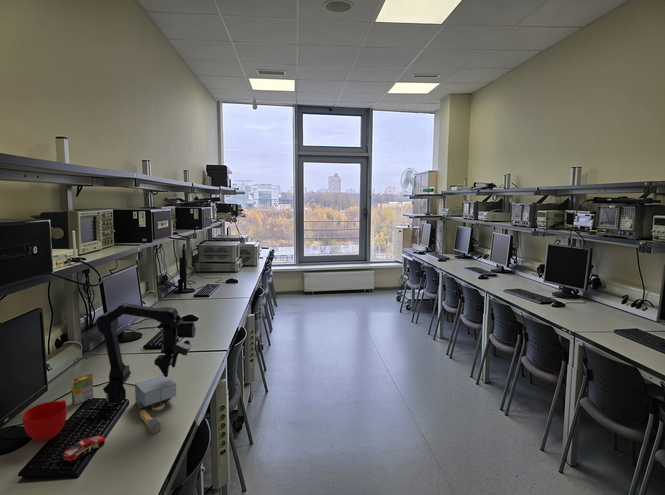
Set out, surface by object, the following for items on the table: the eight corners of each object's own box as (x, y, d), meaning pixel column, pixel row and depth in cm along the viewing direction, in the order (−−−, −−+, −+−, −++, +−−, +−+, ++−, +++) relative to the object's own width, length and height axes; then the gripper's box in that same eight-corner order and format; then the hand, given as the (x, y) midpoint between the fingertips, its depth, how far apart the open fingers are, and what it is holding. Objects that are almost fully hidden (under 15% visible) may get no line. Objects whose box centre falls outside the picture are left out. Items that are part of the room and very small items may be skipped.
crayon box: (91, 396, 167) (90, 371, 166) (93, 398, 165) (92, 373, 164) (71, 402, 161) (70, 376, 160) (74, 405, 160) (73, 379, 158)
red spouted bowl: (82, 419, 149) (81, 396, 148) (52, 447, 133) (50, 421, 131) (48, 419, 149) (47, 395, 148) (14, 447, 132) (12, 420, 131)
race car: (99, 439, 139) (98, 428, 138) (108, 443, 137) (108, 433, 136) (60, 460, 127) (59, 449, 127) (69, 465, 125) (69, 454, 124)
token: (154, 412, 157) (154, 409, 157) (150, 407, 161) (149, 404, 160) (166, 408, 161) (166, 405, 160) (162, 403, 164) (162, 400, 164)
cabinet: (144, 414, 155) (144, 393, 154) (135, 403, 163) (135, 383, 162) (176, 403, 164) (176, 383, 163) (166, 393, 172) (165, 374, 171)
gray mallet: (152, 433, 143) (152, 425, 142) (138, 416, 153) (138, 408, 153) (159, 430, 145) (159, 422, 144) (146, 414, 155) (145, 405, 155)
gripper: (182, 346, 154) (182, 382, 156) (194, 330, 172) (195, 362, 174) (153, 345, 153) (154, 382, 155) (169, 329, 171) (170, 362, 173)
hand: (169, 371), depth 164 cm, fingers open, 9 cm apart
